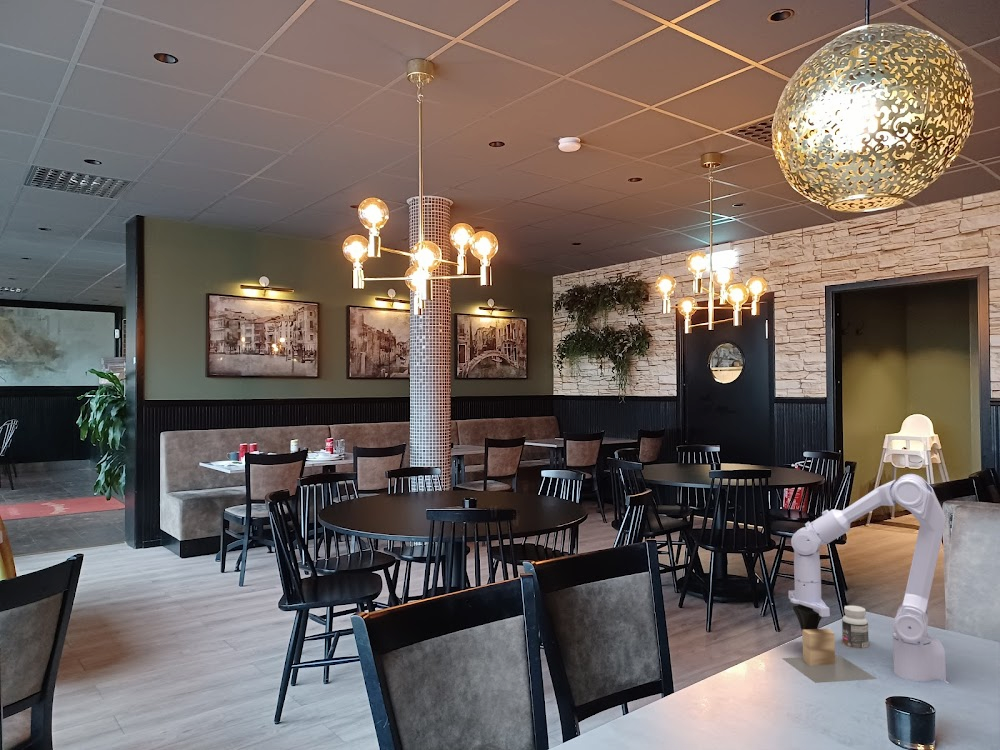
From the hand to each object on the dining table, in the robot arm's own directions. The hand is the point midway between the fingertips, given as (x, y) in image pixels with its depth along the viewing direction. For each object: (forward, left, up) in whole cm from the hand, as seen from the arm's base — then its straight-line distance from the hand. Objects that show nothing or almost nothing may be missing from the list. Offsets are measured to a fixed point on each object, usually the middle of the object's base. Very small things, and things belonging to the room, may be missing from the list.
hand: (809, 638), depth 167 cm
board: (0, +7, -5) cm, 9 cm away
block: (0, +4, -4) cm, 6 cm away
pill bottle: (-15, -6, -5) cm, 17 cm away
